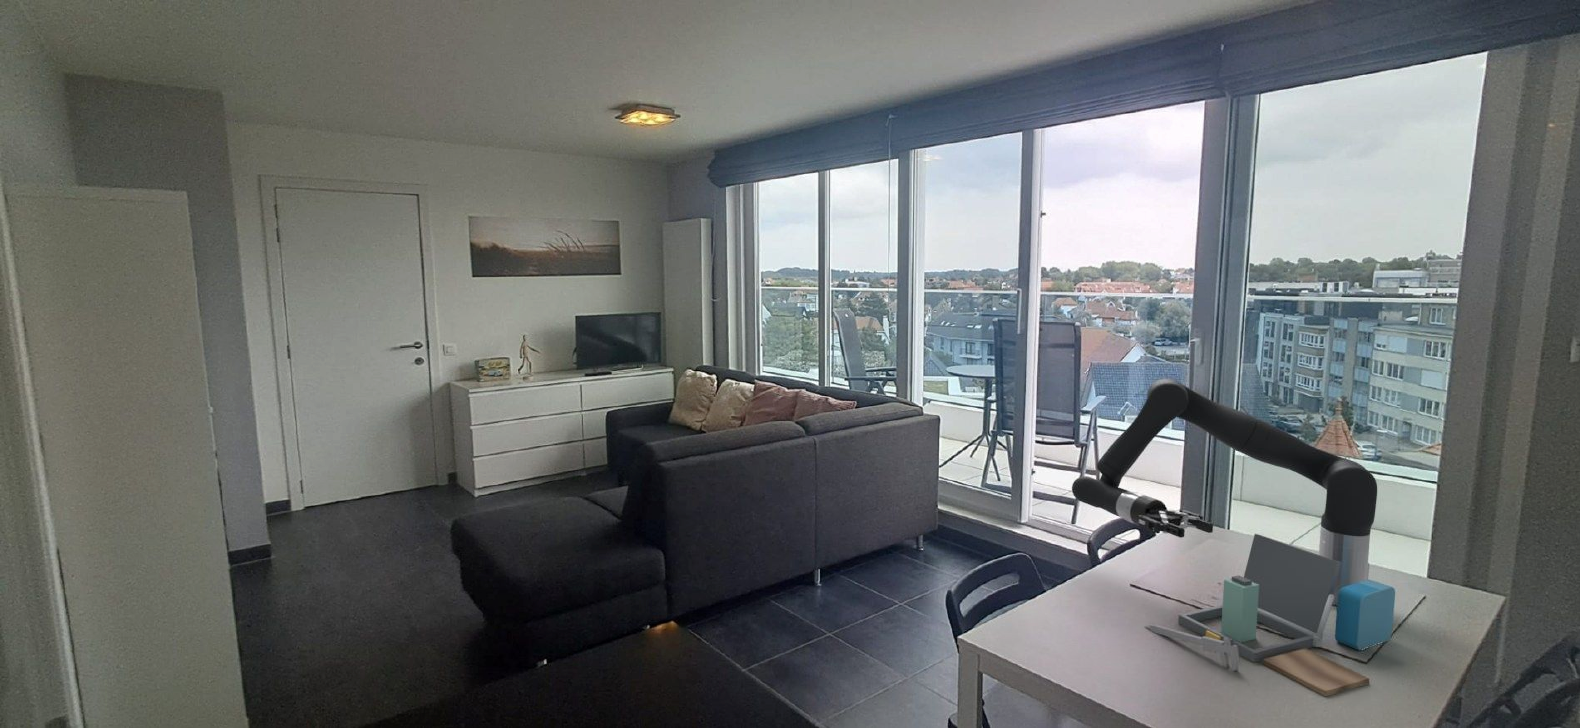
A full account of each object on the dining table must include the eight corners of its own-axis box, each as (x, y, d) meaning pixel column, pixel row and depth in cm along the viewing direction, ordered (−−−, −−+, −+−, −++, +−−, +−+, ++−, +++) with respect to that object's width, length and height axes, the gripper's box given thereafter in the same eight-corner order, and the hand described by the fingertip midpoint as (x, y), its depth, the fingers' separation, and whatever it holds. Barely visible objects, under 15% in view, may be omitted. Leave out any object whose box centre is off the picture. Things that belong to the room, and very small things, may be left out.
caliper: (1238, 672, 140) (1240, 641, 140) (1234, 673, 140) (1236, 642, 139) (1147, 627, 159) (1149, 600, 158) (1144, 628, 158) (1145, 601, 158)
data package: (1367, 631, 155) (1371, 577, 154) (1391, 640, 151) (1396, 585, 150) (1333, 642, 151) (1337, 588, 149) (1357, 652, 147) (1362, 596, 145)
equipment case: (1254, 605, 168) (1259, 532, 166) (1340, 643, 150) (1346, 562, 148) (1176, 623, 160) (1179, 547, 158) (1256, 665, 142) (1262, 580, 140)
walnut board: (1304, 653, 147) (1305, 648, 146) (1368, 683, 135) (1369, 678, 135) (1262, 664, 143) (1262, 659, 142) (1324, 696, 131) (1325, 691, 131)
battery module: (1236, 629, 157) (1239, 573, 155) (1255, 638, 153) (1259, 581, 151) (1221, 633, 155) (1224, 576, 154) (1240, 642, 151) (1243, 584, 150)
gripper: (1118, 498, 175) (1174, 518, 159) (1163, 492, 179) (1222, 511, 164) (1117, 528, 175) (1172, 551, 160) (1162, 521, 180) (1220, 543, 165)
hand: (1197, 531), depth 162 cm, fingers open, 8 cm apart
